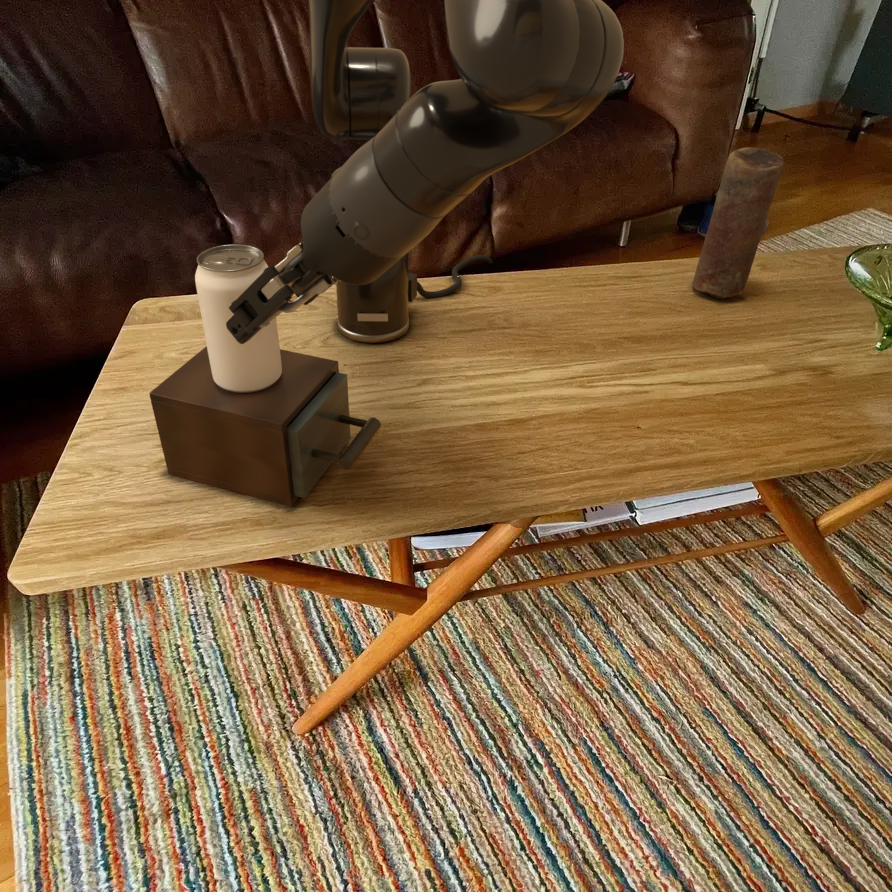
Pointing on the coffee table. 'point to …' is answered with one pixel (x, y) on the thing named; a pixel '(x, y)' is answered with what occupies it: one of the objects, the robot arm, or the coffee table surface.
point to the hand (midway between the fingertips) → (268, 313)
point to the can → (217, 288)
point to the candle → (737, 221)
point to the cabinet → (235, 425)
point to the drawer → (325, 435)
